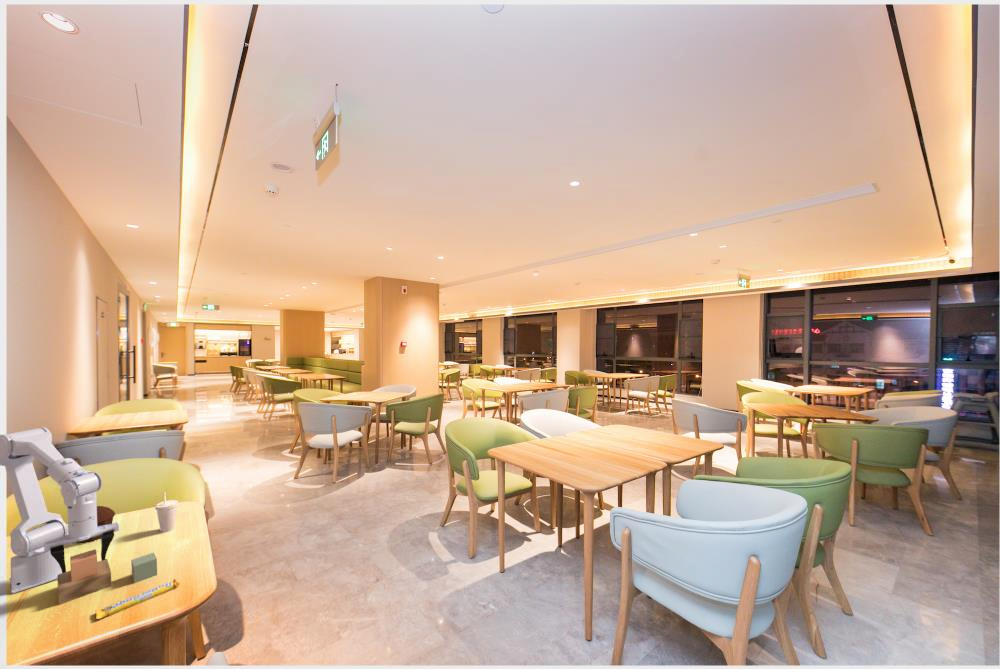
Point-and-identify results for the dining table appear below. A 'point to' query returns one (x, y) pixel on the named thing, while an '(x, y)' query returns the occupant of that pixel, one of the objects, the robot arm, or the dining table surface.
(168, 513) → the smoothie
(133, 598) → the candy bar
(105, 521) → the muffin
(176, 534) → the dining table surface
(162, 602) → the dining table surface
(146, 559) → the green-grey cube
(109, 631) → the dining table surface
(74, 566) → the terracotta cube
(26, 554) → the robot arm
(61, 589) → the walnut block
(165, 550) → the dining table surface
